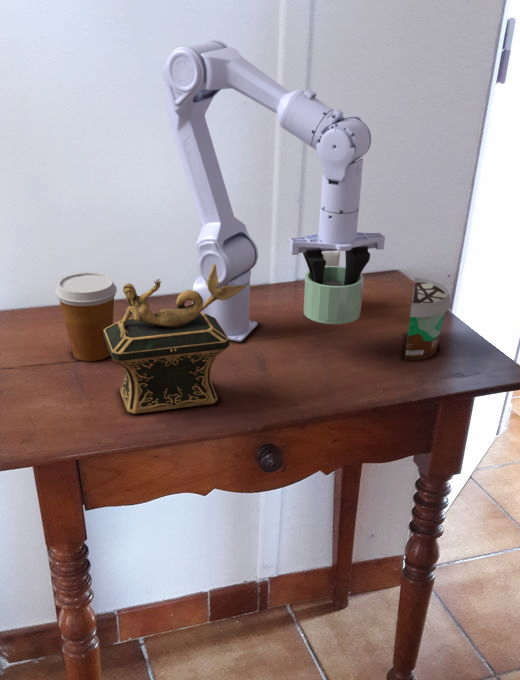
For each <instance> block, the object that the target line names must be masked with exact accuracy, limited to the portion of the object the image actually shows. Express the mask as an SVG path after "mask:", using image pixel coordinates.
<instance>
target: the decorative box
mask: <svg viewBox="0 0 520 680" xmlns="http://www.w3.org/2000/svg"><path fill="white" fill-rule="evenodd" d="M160 280H161V279H160V278H156V281H155V280H153V283H154V284H155V285H154V286H152V287H151V288H150V289H148V290H147V291H146V292H143V293H142V294H141V295H138V293H137V290H136V287H135V286H134V285H133V284H132V283H125V284H124V285H123V288H122V292H123V294H124V296H125V298H126V302H127V304H128V305H129V306H128V307H126V308H127V309H126V311H125V314H124V315H123V318H122V319H119V320H118V321H116V322H113V324H112V325H111V326H109V327H107V328H105V329H104V330H103V334H104V338H105V341H106V343H107V346H108V349H109V351H110V354H111V355H110V356H111V359H112V361H114V362H115V363H117V364H118V365H119V366H120V367H122V368H123V369H124V378H123V381H122V384H121V386H120V389H119V393H120V394H121V398H122V400H123V403H124V406H125V408H126V412H127V413H131V414H135V415H136V414H137V415H139V414H144V413H152V412H160V411H167V410H168V411H169V410H175V409H182V408H189V407H197V406H205V405H213V404H215V403H216V402H218V396H217V393H216V390H215V388H214V386H213V382H212V376H211V371H212V366H213V363H214V361H215V360H216V359H217V357H218V356H219V355H220V354H221V353H223V352H224V351H225V350H226V349H228V348H229V347H230V340H229V338H228V337H227V335H226V334H225V332H224V331H223V329H222V327H221V326H220V324H219V323H218V321H217V320H216V318H214V317H212V316H210V315H207V314H205V313H203V312H201V311H203V310H204V309H205V308H207V306H208V305H210V304H211V303H212V302H214V301H215V300H217V299H219V300H227V299H229V298H231V297H232V296H234V295H235V294H237V293H238V292H239V291H241V290H242V289H244V288H245V287H246V286H224V287H222V288H220V289H218V288H217V287H218V277H217V269H216V264H215V263H214V264H213V267H212V270H211V272H210V275H209V277H208V280H207V287H208V290H209V292H210V293H211V296H210V297H209V298H208V300H207V301H206V302H205V303H204V305H203V299H202V297H201V295H200V294H199V293H198V292H196V291H193V289H186V290H184V291H182V292H180V293H179V295H178V296H177V298H176V300H175V304H176V307H177V308H163V309H160V310H157V312H155V313H153V311H152V309H151V306H150V303H149V301H148V298H150V297H151V296H152V295H153V294H154V293H156V292H157V291H158V290H159V289H160V287H161V283H162V280H161V281H160ZM187 301H191V304H189V305H187V306H186V305H185V303H187ZM192 302H193V304H192ZM131 315H132V316H133V317H130V316H131Z"/></svg>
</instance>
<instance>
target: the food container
mask: <svg viewBox="0 0 520 680" xmlns="http://www.w3.org/2000/svg"><path fill="white" fill-rule="evenodd" d="M450 308H451V295H450V292H449V290H448V288H447V287H446V286H445V285H443V284H441V283H439V282H437V281H434V280H431V279H427V278H422V277H414V284H413V289H412V299H411V306H410V314H409V315H410V316H409V321H408V329H407V337H406V345H405V352H404V353H405V354H404V360H423V359H427V358H430V357H432V356H433V355H435V354H436V352H437V348H438V344H439V339H440V334H441V331H442V327H443V322H444V318H445V313H446V312H447V311H449V310H450Z"/></svg>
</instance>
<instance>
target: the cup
mask: <svg viewBox="0 0 520 680" xmlns="http://www.w3.org/2000/svg"><path fill="white" fill-rule="evenodd" d="M345 271H346V266H340V265H339V266H325V269H324V275H323V285H322V284H319V283H316V282H314V281H312V279H311V275H310V271H309V270H307V271H306V272H305V273H304V291H303V292H304V293H303V314H304V316H305V317H306V318H307V319H309V320H311V321H312V322H316V323H320V324H325V325H344V324H349V323H352V322H355V321H357V320H358V319H359V318H360V316H361V312H362V304H363V303H362V302H363V293H364V281H365V279H364V278H365V276H364V275H363V274H362V273H361V274H360V276H359V278H358V280H357V282H356V283H354V284H351V285H347V286H344V280H345ZM327 281H339V282H341V284H342V286H328V285H325V282H327Z"/></svg>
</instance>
